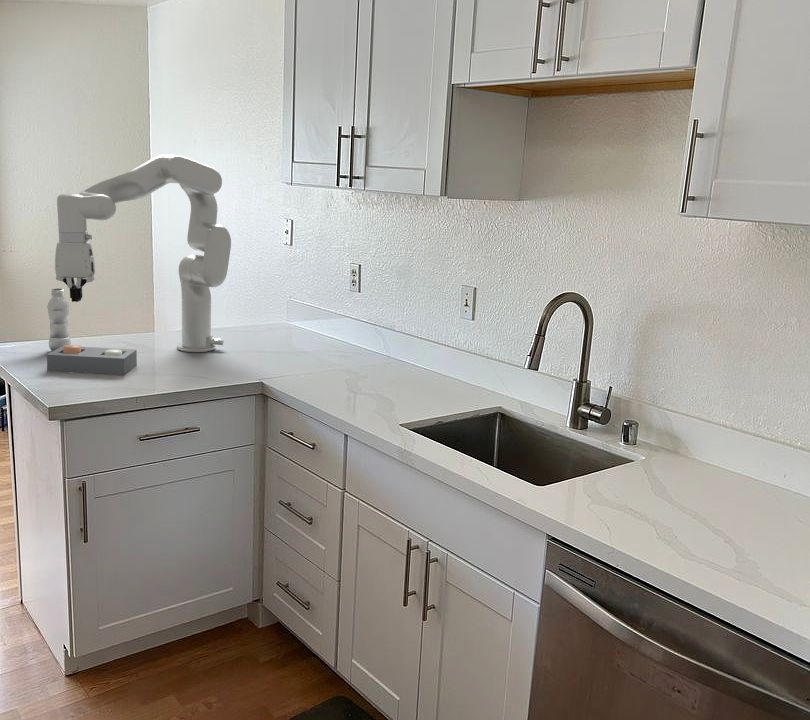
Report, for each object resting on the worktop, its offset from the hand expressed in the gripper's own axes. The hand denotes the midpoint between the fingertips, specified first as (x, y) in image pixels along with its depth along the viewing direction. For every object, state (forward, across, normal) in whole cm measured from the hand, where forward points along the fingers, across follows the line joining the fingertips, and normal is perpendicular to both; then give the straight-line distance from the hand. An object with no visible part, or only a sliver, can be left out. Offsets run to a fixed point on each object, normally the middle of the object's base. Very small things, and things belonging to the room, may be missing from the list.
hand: (76, 300), depth 232 cm
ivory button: (+19, -11, +2) cm, 22 cm away
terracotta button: (+18, +1, +2) cm, 18 cm away
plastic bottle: (+20, +12, -17) cm, 29 cm away
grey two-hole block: (+20, -5, +2) cm, 20 cm away
